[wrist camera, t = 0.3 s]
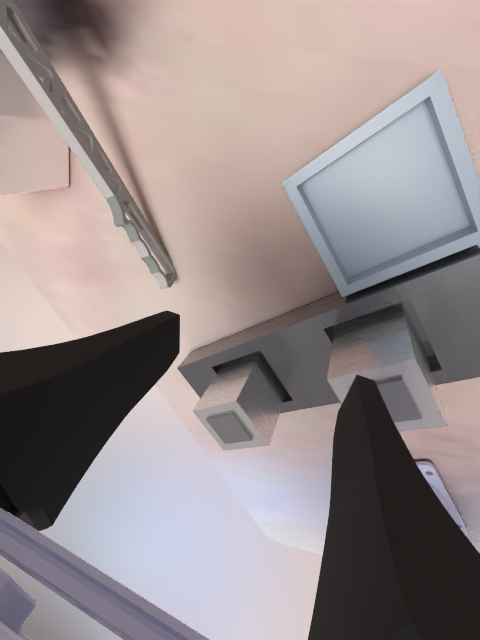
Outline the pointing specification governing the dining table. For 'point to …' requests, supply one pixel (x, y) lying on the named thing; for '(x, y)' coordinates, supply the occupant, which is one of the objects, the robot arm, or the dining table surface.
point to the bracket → (78, 136)
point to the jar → (27, 140)
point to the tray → (392, 192)
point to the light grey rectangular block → (387, 366)
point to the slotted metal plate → (322, 316)
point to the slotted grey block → (242, 403)
